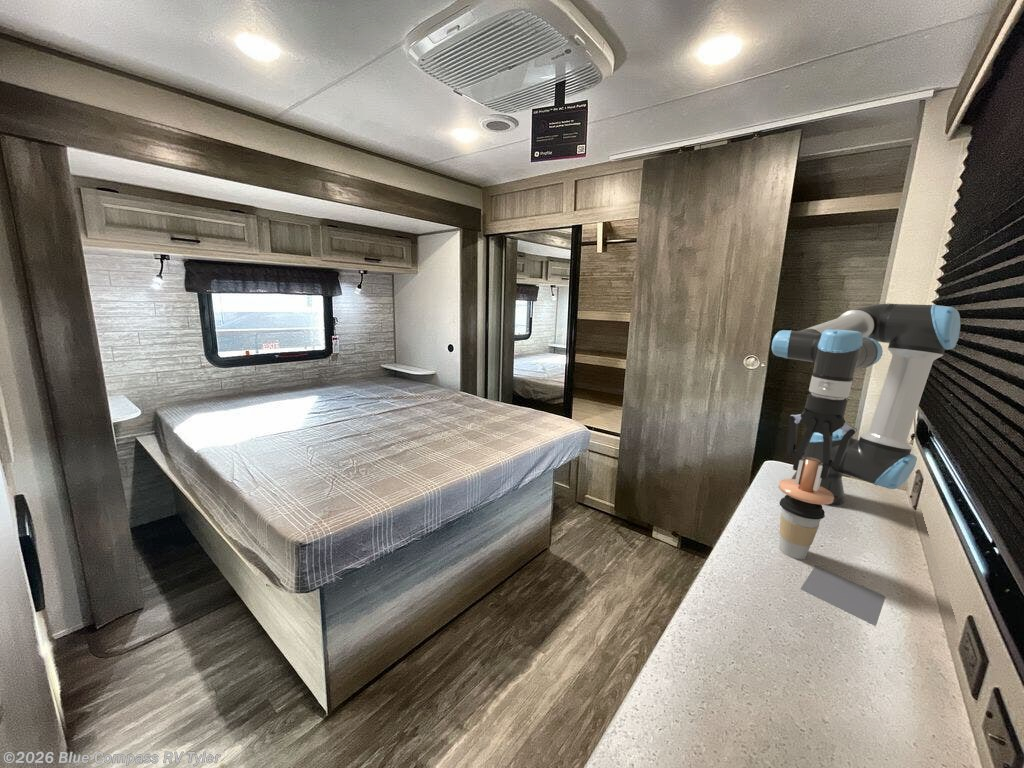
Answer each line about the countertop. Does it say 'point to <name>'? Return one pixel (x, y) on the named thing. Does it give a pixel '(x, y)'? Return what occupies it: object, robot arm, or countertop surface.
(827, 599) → the mat
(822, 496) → the lid
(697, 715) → the countertop surface
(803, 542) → the coffee cup
